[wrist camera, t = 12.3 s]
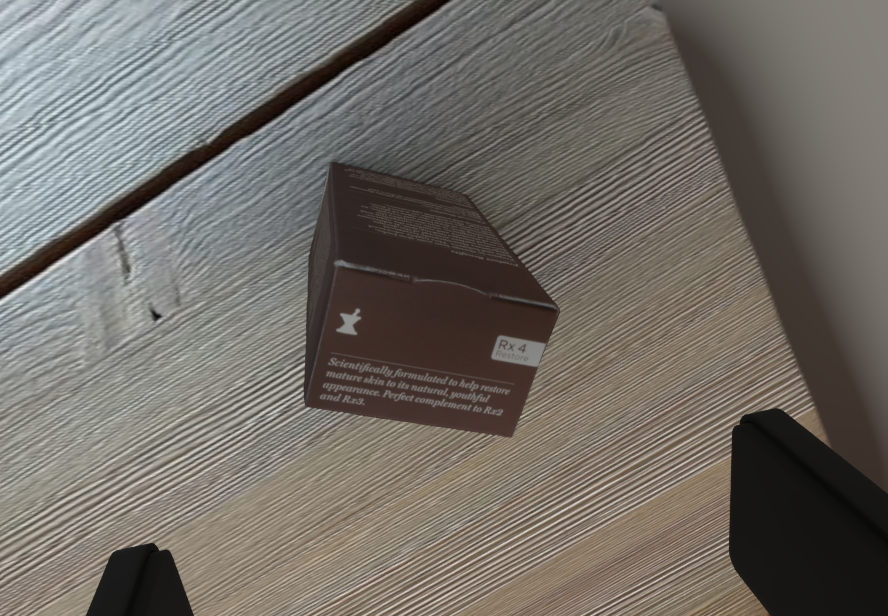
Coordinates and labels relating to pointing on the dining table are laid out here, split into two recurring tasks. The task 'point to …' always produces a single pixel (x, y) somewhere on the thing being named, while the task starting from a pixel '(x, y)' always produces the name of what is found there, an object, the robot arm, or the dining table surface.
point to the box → (418, 308)
